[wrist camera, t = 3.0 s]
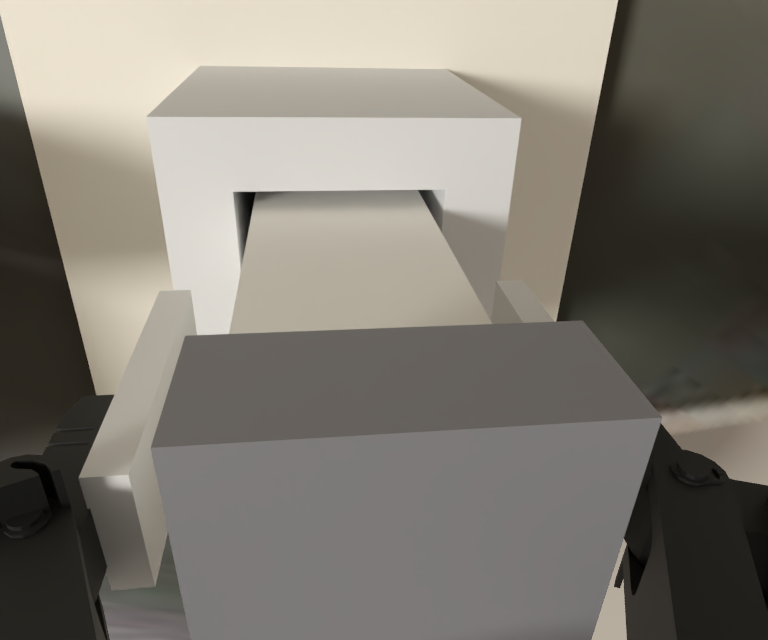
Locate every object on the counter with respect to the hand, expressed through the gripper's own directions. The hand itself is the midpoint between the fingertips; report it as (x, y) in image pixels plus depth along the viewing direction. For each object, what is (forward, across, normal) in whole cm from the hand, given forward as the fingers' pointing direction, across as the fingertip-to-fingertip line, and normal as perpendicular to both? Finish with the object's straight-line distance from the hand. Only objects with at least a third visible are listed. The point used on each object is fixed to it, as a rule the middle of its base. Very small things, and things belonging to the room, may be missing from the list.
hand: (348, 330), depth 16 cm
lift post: (+12, 0, 0) cm, 12 cm away
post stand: (+14, 0, 0) cm, 14 cm away
